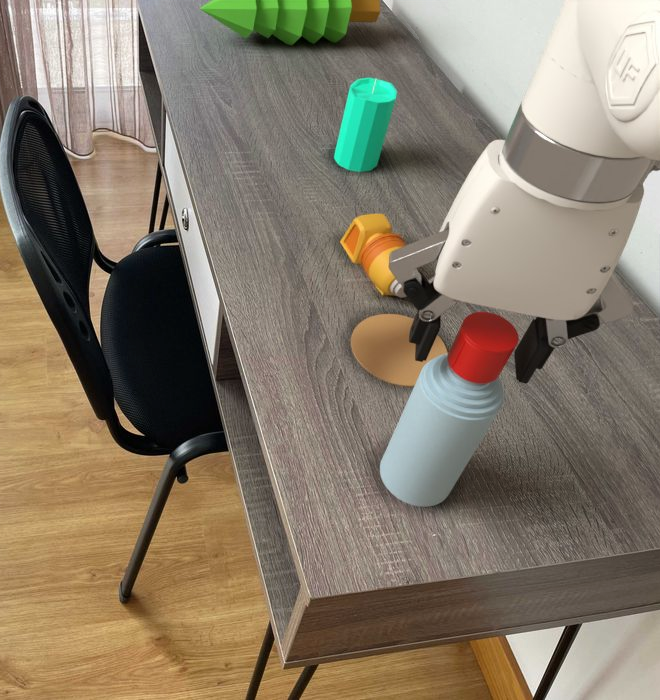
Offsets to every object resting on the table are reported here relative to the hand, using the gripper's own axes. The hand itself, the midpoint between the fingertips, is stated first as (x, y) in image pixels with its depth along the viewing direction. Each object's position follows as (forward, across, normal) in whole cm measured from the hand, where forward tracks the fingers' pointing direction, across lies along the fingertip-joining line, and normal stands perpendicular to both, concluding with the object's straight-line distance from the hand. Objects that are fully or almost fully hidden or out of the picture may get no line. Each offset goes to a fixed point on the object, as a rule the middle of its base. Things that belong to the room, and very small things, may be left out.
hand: (470, 357), depth 55 cm
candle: (+16, +9, -48) cm, 52 cm away
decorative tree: (+16, +24, -81) cm, 86 cm away
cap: (0, 0, +1) cm, 1 cm away
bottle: (+16, 0, 0) cm, 16 cm away
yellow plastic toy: (+16, +5, -26) cm, 31 cm away
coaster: (+16, +2, -15) cm, 22 cm away
